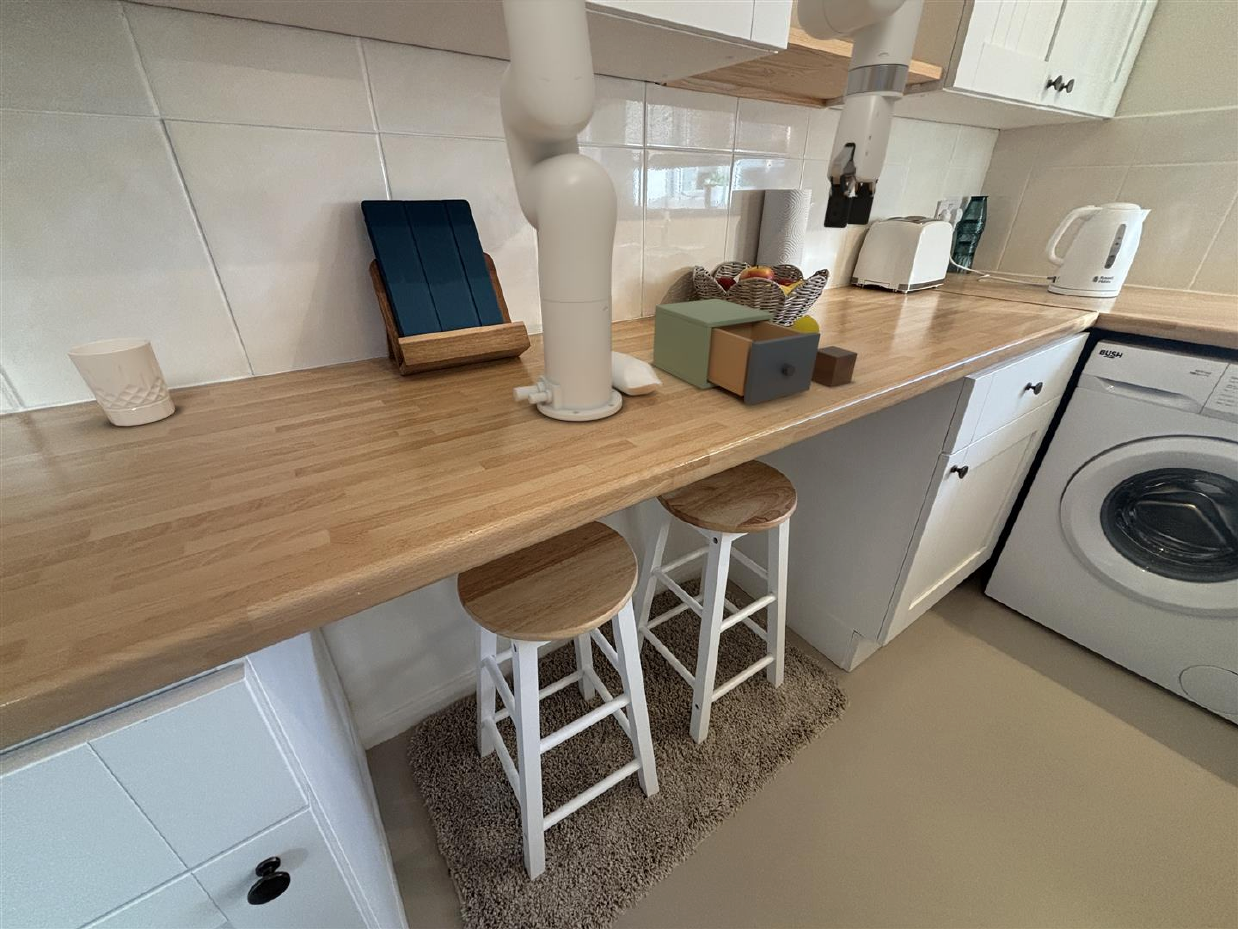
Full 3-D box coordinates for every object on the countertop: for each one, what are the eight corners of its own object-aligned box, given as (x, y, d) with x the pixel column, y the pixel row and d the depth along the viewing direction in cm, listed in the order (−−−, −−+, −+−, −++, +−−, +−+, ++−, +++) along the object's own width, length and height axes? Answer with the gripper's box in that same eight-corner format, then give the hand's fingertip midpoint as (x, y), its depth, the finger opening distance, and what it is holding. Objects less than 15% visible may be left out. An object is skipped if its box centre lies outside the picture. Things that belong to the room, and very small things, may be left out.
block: (830, 387, 81) (837, 357, 78) (806, 378, 84) (812, 349, 82) (850, 382, 83) (858, 353, 80) (826, 373, 87) (832, 345, 84)
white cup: (189, 403, 73) (158, 335, 68) (168, 423, 66) (133, 350, 62) (122, 410, 70) (86, 340, 65) (94, 432, 64) (51, 357, 59)
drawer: (815, 392, 76) (827, 335, 72) (755, 407, 70) (764, 346, 66) (749, 366, 87) (756, 315, 83) (693, 377, 82) (697, 323, 77)
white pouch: (639, 410, 71) (642, 372, 69) (595, 386, 80) (596, 351, 77) (671, 402, 74) (674, 366, 72) (625, 380, 83) (627, 347, 80)
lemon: (810, 353, 98) (818, 312, 94) (817, 361, 93) (826, 318, 89) (782, 352, 98) (789, 311, 94) (787, 360, 93) (795, 317, 89)
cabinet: (764, 376, 85) (774, 313, 80) (701, 389, 79) (708, 322, 74) (711, 354, 96) (716, 298, 91) (652, 364, 90) (655, 305, 85)
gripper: (866, 98, 75) (841, 222, 84) (823, 81, 64) (799, 227, 72) (920, 92, 71) (888, 224, 79) (884, 74, 60) (851, 230, 68)
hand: (846, 225), depth 76 cm, fingers open, 9 cm apart
